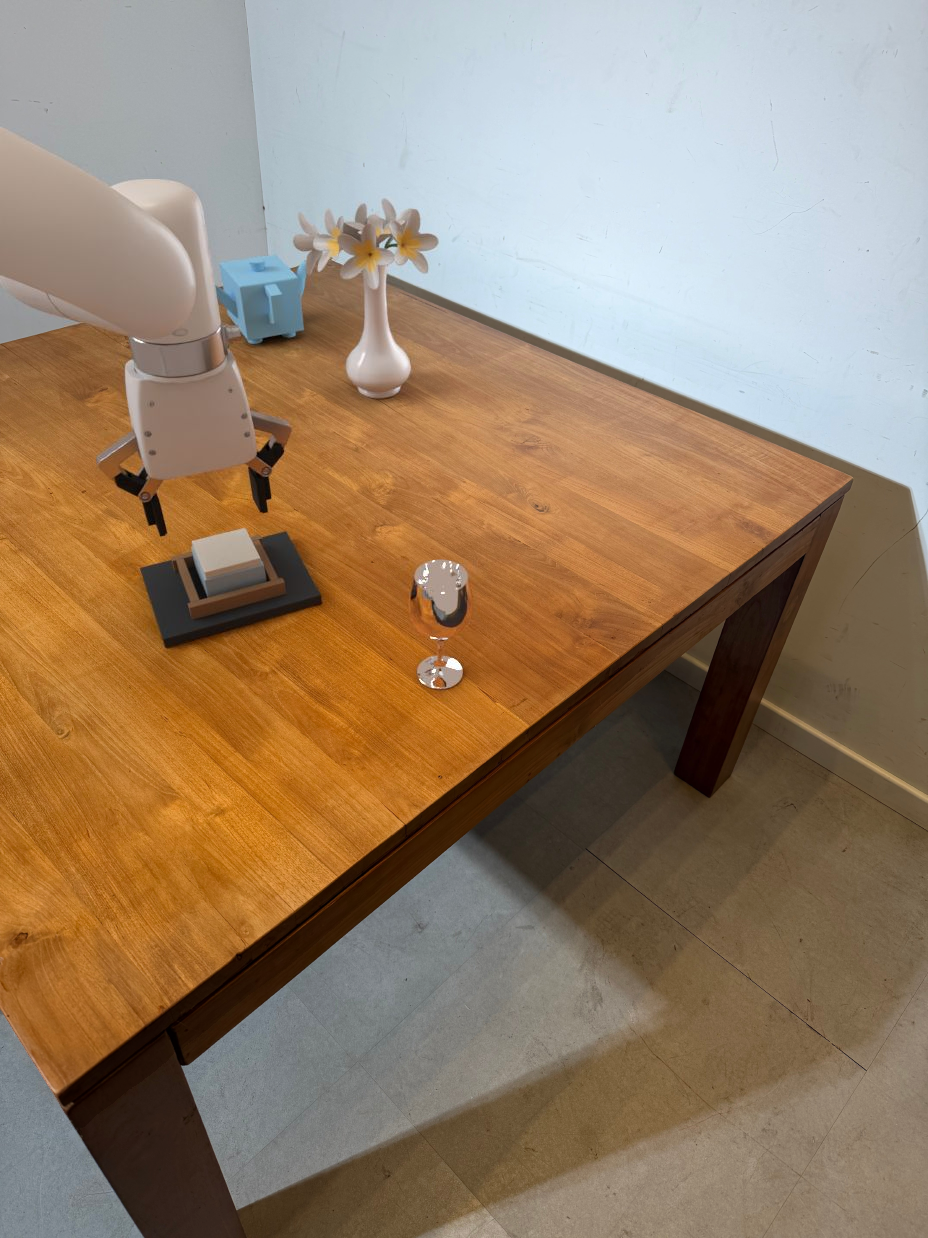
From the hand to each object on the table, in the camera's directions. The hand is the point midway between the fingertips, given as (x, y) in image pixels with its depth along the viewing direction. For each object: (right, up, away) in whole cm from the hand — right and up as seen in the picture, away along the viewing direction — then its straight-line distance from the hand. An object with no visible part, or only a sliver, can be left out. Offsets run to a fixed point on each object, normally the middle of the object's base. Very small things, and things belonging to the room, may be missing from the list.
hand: (211, 516), depth 81 cm
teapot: (-7, +36, +53) cm, 65 cm away
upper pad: (0, -6, +6) cm, 9 cm away
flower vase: (+11, +23, +40) cm, 48 cm away
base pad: (0, -7, +7) cm, 10 cm away
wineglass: (+22, -15, -1) cm, 27 cm away
